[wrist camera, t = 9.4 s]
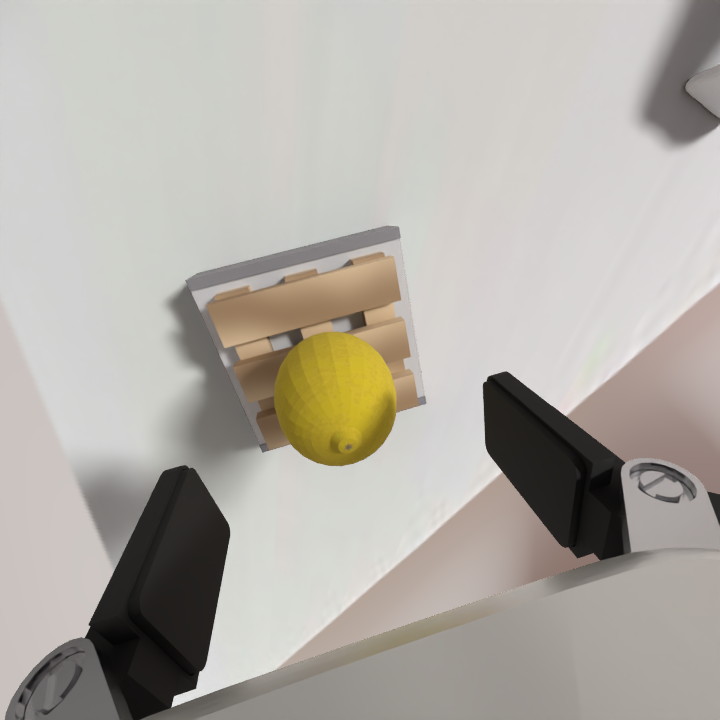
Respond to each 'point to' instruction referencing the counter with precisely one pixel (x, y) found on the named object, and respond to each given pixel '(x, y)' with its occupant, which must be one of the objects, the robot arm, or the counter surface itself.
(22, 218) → the counter surface
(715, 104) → the spoon rest
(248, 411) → the dock
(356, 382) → the lemon
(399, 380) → the pallet
